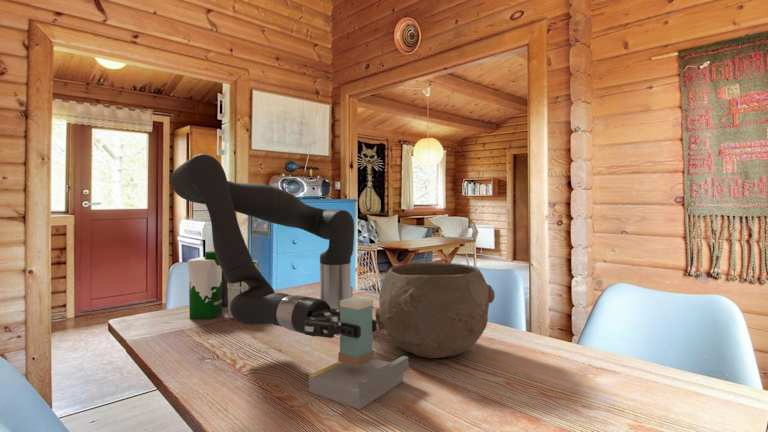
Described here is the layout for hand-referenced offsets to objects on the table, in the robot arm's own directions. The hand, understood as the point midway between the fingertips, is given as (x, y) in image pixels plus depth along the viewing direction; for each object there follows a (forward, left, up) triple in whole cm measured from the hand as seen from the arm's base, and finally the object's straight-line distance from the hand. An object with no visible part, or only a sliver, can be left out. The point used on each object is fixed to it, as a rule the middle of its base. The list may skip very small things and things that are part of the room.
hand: (367, 329), depth 78 cm
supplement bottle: (-22, -81, -12) cm, 84 cm away
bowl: (-25, 0, -12) cm, 28 cm away
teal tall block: (0, -3, -6) cm, 7 cm away
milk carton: (-12, -73, -12) cm, 75 cm away
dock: (0, -3, -12) cm, 12 cm away
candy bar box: (-20, -65, -12) cm, 69 cm away
